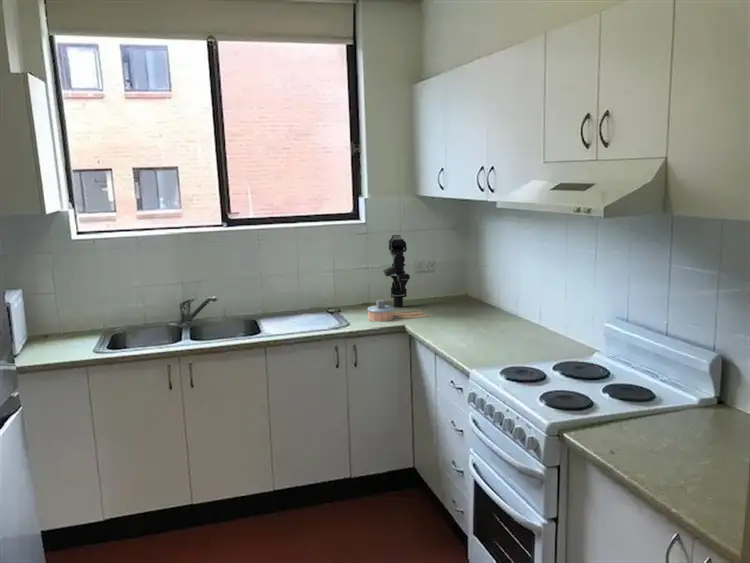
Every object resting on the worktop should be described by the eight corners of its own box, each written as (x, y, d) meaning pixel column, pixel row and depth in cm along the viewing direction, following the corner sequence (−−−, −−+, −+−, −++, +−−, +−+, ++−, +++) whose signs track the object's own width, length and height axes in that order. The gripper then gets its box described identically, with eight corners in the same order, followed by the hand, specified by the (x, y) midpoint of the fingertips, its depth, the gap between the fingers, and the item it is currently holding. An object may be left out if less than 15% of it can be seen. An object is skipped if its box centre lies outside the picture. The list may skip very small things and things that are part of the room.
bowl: (365, 317, 340) (365, 308, 339) (388, 315, 344) (388, 306, 343) (372, 322, 328) (372, 313, 327) (396, 320, 332) (396, 311, 331)
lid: (364, 308, 340) (364, 299, 339) (389, 305, 344) (388, 297, 343) (371, 313, 327) (371, 304, 326) (397, 311, 330) (397, 302, 330)
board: (392, 314, 346) (392, 313, 346) (419, 311, 351) (419, 310, 351) (401, 320, 331) (401, 319, 331) (429, 317, 336) (429, 316, 335)
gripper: (379, 260, 350) (380, 288, 352) (390, 265, 332) (390, 294, 335) (398, 259, 353) (399, 286, 356) (409, 263, 335) (410, 292, 338)
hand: (399, 289), depth 346 cm, fingers open, 9 cm apart
